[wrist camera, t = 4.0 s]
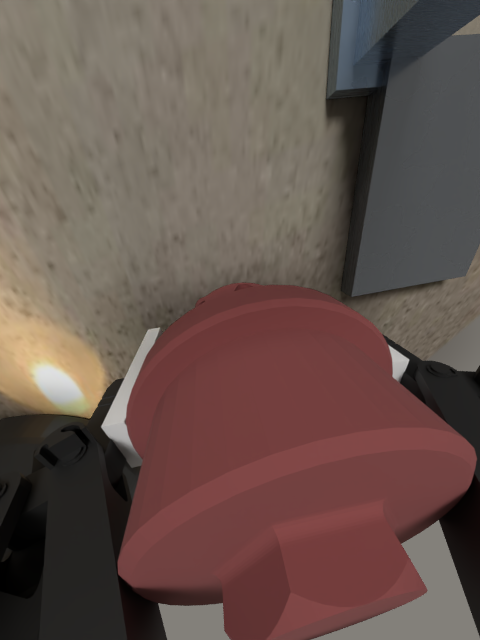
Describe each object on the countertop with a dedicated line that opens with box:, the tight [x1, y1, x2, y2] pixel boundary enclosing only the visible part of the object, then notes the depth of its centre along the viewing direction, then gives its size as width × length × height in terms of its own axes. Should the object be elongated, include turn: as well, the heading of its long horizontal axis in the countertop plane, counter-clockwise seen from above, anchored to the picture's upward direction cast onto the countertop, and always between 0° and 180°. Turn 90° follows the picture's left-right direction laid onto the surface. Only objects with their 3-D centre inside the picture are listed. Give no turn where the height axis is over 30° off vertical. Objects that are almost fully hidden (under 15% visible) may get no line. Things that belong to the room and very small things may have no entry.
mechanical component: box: [118, 283, 477, 640], centre depth 9 cm, size 12×10×10 cm
